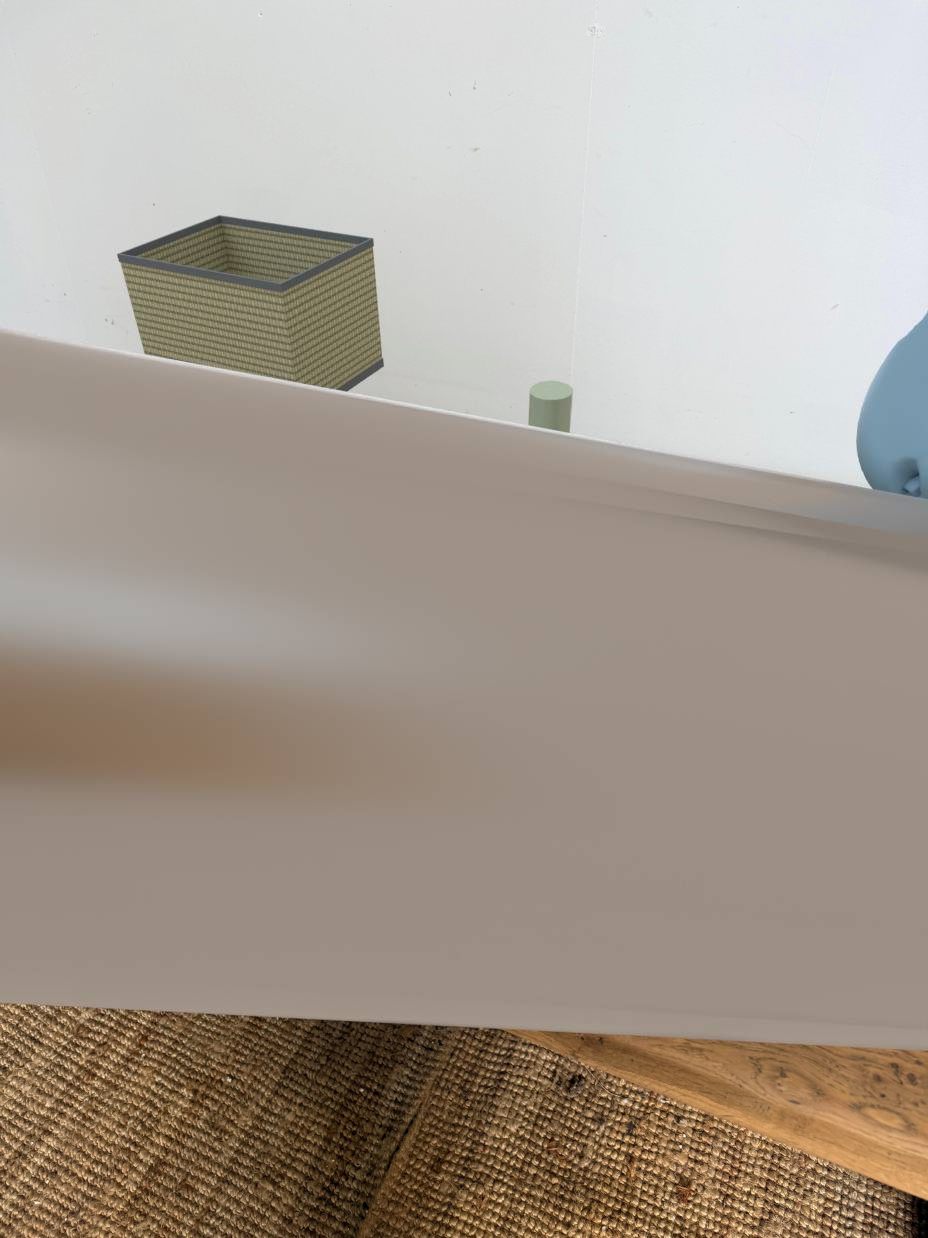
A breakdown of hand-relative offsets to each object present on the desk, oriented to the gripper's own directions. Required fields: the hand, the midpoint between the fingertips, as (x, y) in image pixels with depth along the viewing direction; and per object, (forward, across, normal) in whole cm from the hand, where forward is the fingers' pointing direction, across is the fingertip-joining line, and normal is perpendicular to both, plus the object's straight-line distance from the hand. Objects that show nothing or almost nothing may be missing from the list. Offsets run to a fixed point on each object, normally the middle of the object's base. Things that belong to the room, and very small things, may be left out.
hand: (637, 723), depth 54 cm
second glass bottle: (+24, +12, +2) cm, 27 cm away
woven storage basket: (+49, +9, +25) cm, 56 cm away
